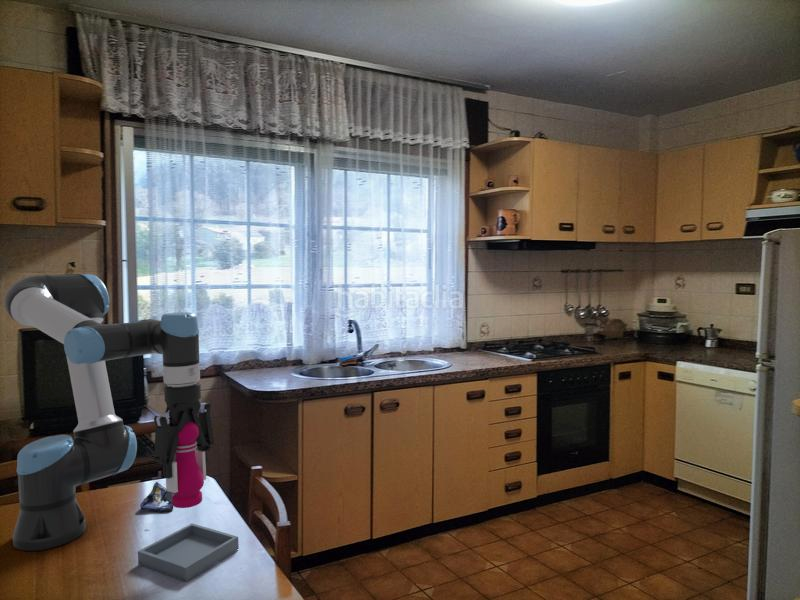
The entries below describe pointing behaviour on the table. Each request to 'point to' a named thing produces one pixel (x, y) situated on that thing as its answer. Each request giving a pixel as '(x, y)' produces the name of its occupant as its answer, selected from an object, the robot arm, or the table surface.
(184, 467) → the pepper mill
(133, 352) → the robot arm
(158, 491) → the snack package
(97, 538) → the table surface
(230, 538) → the tray
